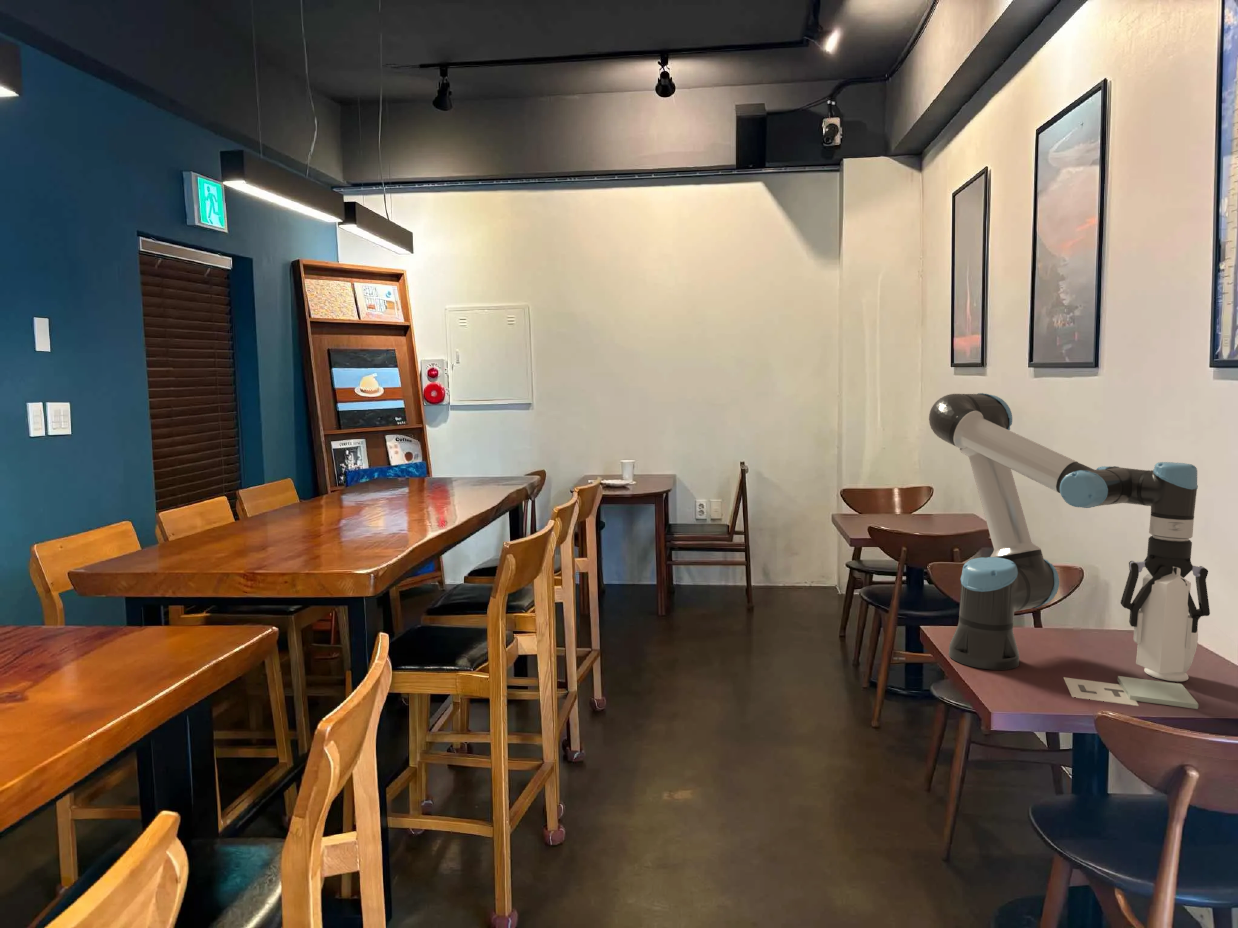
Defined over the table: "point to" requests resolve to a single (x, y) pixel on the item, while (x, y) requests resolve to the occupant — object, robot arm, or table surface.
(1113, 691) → the tile
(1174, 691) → the coaster
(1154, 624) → the milk
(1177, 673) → the jar
